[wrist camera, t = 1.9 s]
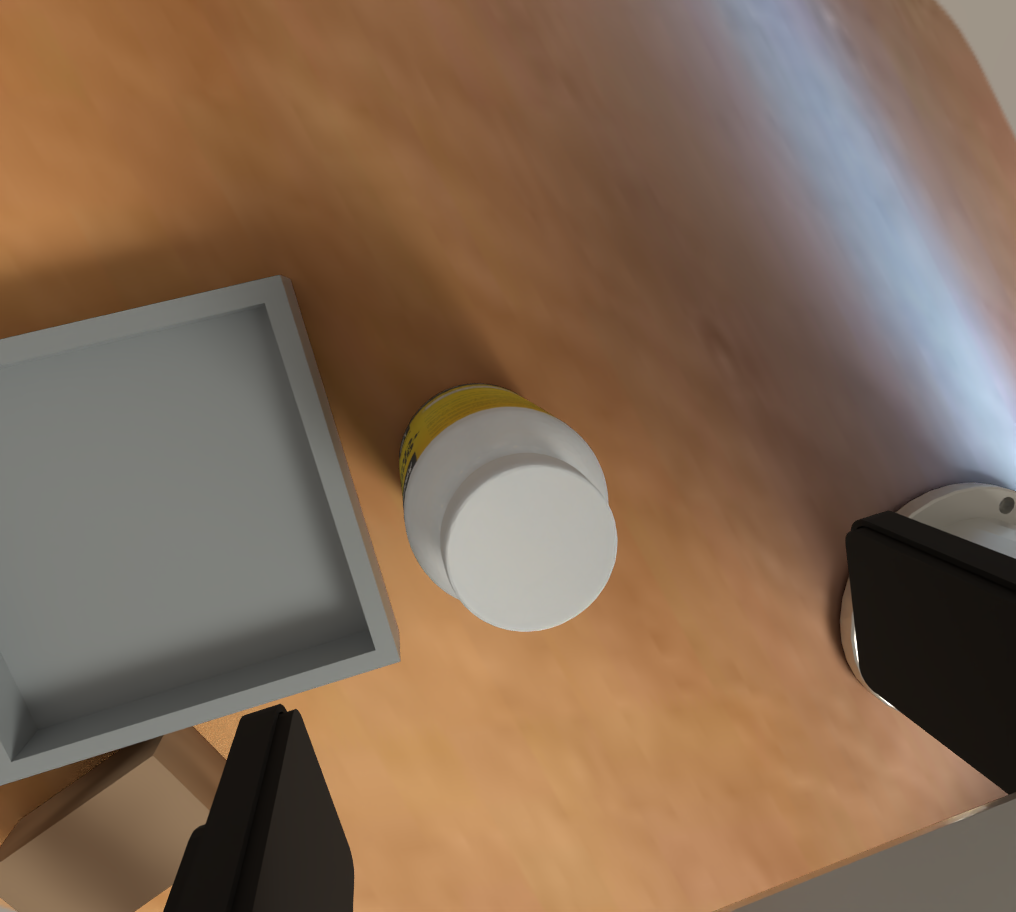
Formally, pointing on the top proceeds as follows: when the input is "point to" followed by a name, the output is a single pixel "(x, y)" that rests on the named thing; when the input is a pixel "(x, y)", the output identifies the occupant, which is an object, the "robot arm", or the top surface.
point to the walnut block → (113, 829)
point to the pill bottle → (506, 507)
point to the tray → (173, 526)
